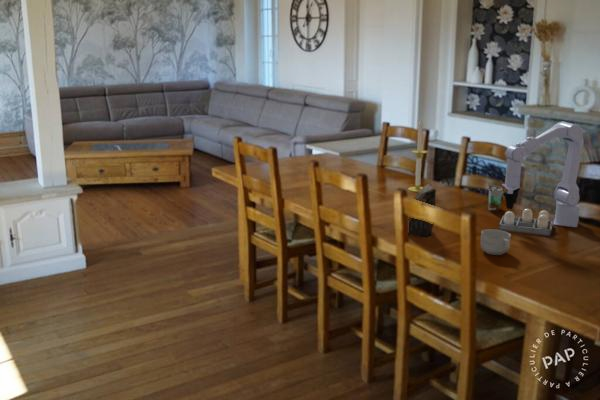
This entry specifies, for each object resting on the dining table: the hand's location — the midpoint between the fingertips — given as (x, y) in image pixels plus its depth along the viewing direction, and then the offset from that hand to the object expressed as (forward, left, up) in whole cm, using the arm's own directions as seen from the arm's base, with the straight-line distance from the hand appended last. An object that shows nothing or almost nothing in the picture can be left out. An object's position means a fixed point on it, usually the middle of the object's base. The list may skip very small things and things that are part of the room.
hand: (510, 206), depth 266 cm
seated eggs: (-10, -3, -9) cm, 14 cm away
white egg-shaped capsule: (0, 0, -9) cm, 9 cm away
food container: (+9, -28, -10) cm, 31 cm away
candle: (+51, -49, -10) cm, 71 cm away
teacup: (+1, +33, -10) cm, 35 cm away
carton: (-7, -3, -10) cm, 12 cm away
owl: (+34, +19, -10) cm, 40 cm away
